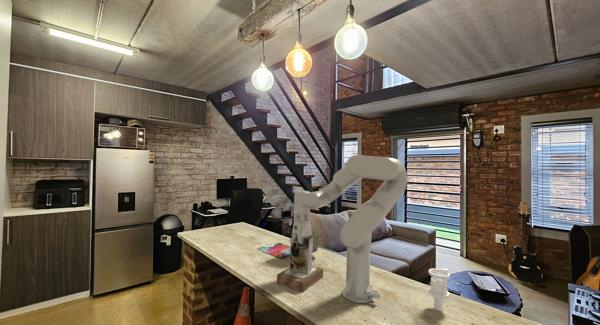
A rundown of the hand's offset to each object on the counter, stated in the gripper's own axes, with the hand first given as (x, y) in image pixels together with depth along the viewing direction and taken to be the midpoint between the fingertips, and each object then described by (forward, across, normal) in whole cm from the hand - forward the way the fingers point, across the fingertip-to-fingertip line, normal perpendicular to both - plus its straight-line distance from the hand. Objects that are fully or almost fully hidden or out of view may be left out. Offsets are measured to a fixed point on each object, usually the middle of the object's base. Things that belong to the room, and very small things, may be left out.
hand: (301, 253), depth 120 cm
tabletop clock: (+12, +24, +14) cm, 30 cm away
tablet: (+13, +27, +33) cm, 45 cm away
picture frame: (+12, 0, 0) cm, 12 cm away
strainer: (+12, +11, -56) cm, 58 cm away
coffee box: (+8, 0, 0) cm, 8 cm away
